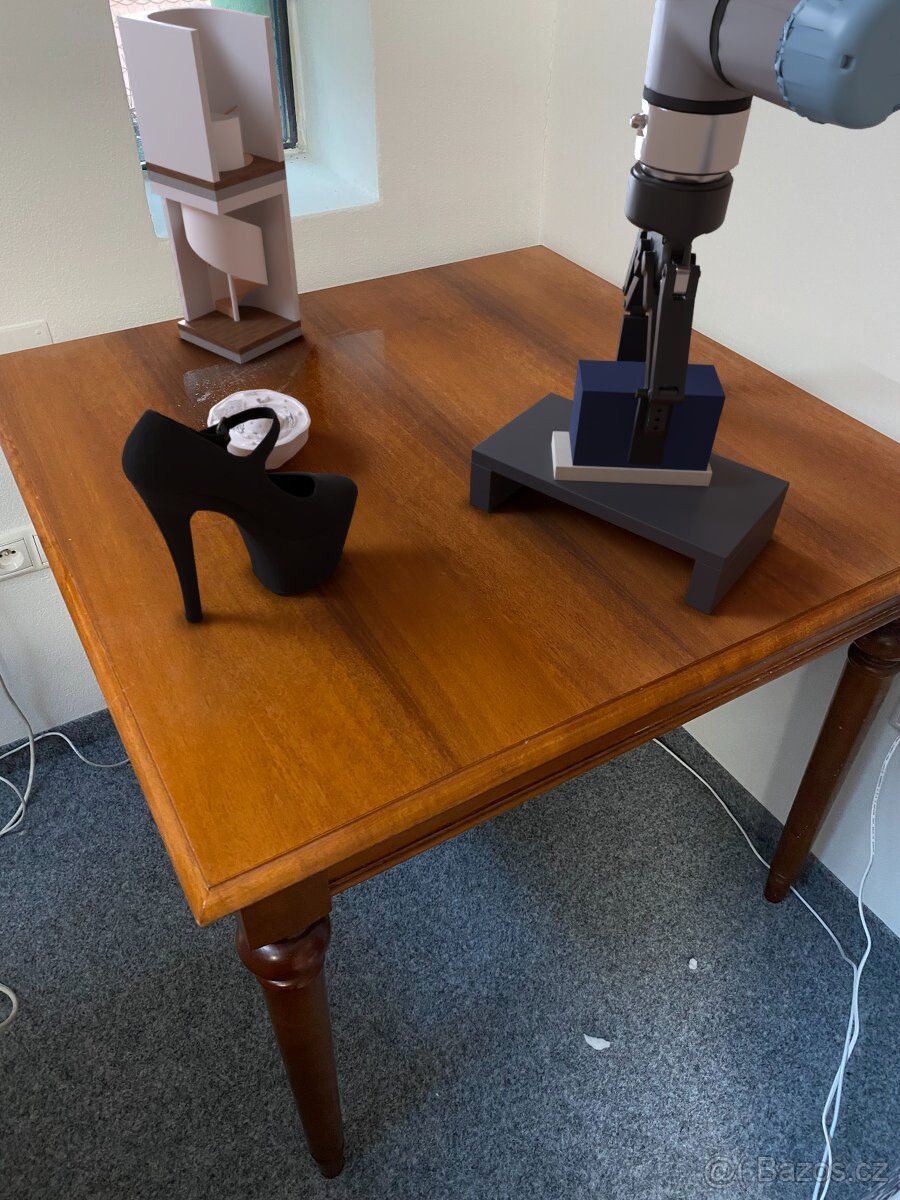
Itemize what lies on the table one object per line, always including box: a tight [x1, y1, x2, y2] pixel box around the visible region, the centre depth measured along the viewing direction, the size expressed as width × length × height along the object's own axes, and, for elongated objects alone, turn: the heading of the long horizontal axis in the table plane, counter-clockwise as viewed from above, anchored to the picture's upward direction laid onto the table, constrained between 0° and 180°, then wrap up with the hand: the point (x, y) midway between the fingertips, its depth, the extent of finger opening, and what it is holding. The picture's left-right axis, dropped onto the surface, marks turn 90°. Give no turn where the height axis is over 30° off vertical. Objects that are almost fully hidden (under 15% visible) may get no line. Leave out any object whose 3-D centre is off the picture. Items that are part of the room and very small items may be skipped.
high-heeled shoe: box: [121, 407, 359, 623], centre depth 71 cm, size 8×19×20 cm, turn 130°
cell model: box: [206, 388, 311, 470], centre depth 91 cm, size 10×12×7 cm
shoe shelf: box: [468, 392, 791, 616], centre depth 84 cm, size 26×14×6 cm, turn 53°
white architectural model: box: [116, 3, 303, 365], centre depth 102 cm, size 11×11×35 cm
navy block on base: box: [551, 359, 726, 486], centre depth 79 cm, size 14×6×9 cm, turn 88°
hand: (634, 419), depth 79 cm, fingers open, 13 cm apart
